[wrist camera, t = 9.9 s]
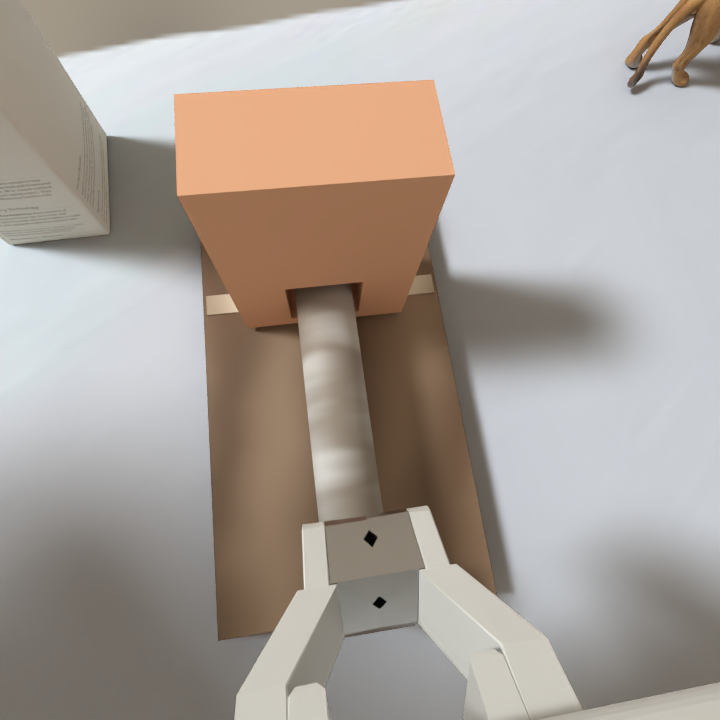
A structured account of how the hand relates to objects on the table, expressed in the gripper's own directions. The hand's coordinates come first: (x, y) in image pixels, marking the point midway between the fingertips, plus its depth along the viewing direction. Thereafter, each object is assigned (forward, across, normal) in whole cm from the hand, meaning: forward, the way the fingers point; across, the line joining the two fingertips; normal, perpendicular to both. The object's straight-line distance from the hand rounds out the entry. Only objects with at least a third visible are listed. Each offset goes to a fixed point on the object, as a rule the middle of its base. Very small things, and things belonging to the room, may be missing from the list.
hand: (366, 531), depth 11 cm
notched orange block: (+18, 0, 0) cm, 18 cm away
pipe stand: (+16, 0, +6) cm, 17 cm away
